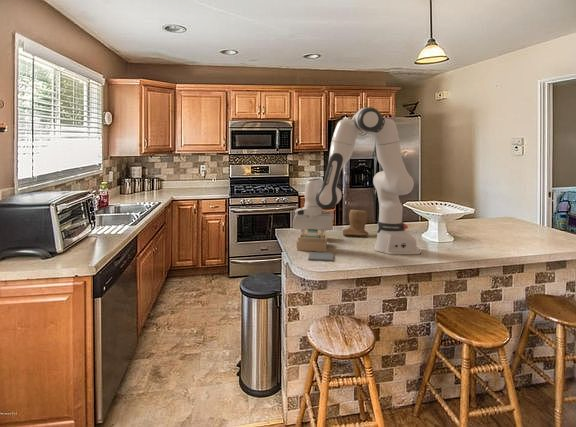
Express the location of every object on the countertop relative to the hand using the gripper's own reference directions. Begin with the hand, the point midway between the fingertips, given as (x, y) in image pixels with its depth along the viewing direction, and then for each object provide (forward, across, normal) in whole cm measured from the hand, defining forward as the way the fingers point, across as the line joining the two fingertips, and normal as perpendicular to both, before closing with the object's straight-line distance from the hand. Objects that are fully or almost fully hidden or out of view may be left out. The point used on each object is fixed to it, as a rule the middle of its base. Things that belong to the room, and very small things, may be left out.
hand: (312, 238), depth 196 cm
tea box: (+5, 0, 0) cm, 5 cm away
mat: (+5, -5, +18) cm, 19 cm away
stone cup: (+5, -23, -31) cm, 39 cm away
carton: (+5, 0, 0) cm, 5 cm away
